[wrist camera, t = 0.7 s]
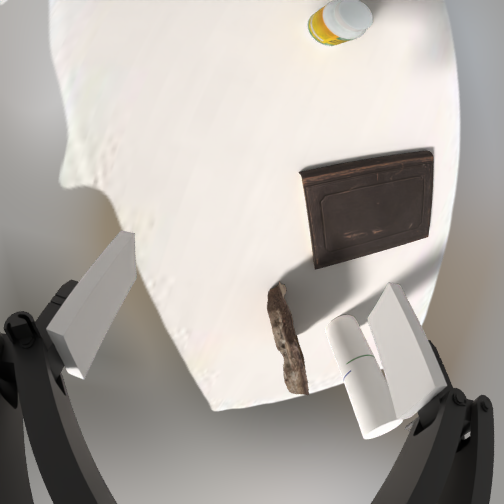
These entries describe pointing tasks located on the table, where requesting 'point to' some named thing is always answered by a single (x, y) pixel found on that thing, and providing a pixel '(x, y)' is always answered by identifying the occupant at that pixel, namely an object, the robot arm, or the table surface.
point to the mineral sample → (287, 341)
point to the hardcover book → (368, 205)
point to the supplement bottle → (340, 22)
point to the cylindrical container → (362, 377)
